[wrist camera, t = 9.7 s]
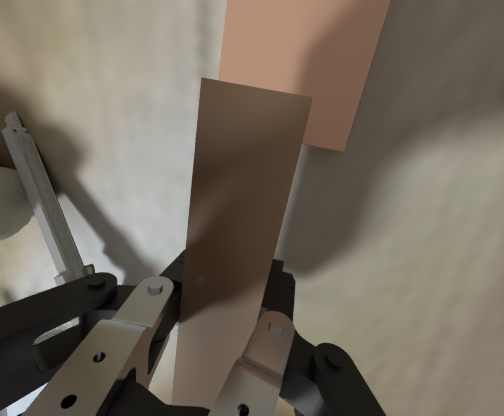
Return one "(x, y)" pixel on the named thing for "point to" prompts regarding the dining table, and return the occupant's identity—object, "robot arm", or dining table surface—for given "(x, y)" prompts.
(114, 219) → the dining table surface
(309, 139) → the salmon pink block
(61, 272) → the caliper
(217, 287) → the walnut bar
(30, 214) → the ceramic sculpture
